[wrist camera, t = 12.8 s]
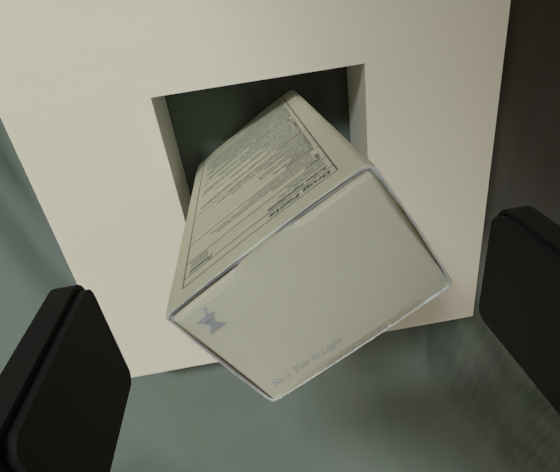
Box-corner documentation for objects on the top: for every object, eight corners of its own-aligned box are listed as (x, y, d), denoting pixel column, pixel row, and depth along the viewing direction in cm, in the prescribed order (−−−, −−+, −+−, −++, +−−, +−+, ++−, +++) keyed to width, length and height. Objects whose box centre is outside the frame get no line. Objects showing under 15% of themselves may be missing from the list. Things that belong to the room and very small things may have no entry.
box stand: (-30, -48, 16) (-82, -60, 13) (480, -123, 16) (528, -149, 14) (132, 341, 25) (121, 379, 23) (448, 285, 26) (472, 316, 23)
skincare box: (250, 223, 22) (268, 412, 12) (193, 162, 20) (153, 323, 10) (345, 151, 21) (463, 291, 10) (293, 79, 19) (373, 160, 8)
